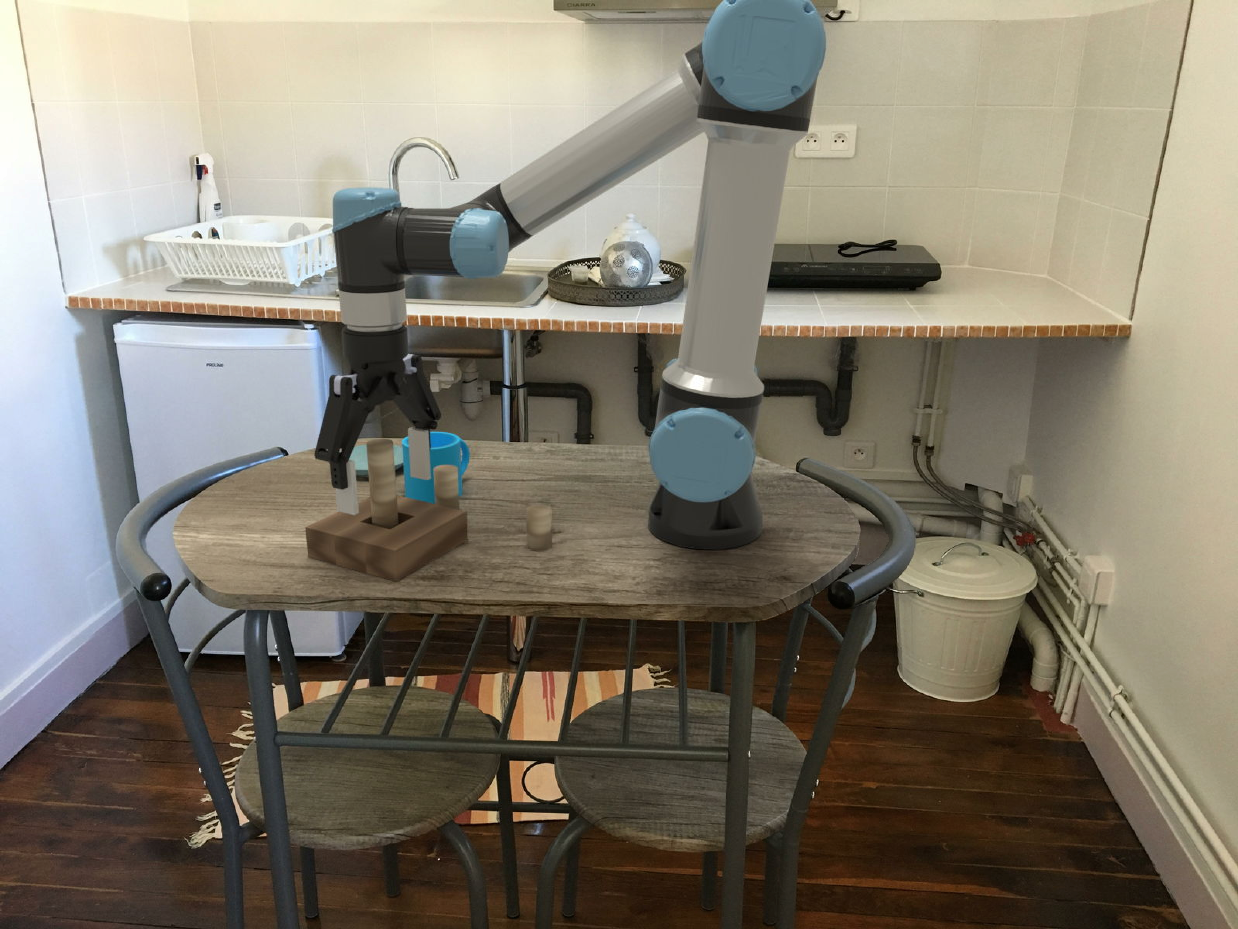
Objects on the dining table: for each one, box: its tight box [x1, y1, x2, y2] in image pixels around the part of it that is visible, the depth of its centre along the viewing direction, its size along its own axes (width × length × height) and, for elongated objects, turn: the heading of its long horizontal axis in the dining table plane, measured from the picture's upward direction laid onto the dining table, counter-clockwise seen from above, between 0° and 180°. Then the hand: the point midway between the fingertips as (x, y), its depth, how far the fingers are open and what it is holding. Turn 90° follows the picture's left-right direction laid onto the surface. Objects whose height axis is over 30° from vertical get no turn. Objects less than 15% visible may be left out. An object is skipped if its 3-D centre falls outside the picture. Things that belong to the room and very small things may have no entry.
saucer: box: [339, 444, 403, 478], centre depth 155 cm, size 12×12×2 cm
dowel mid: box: [433, 465, 460, 510], centre depth 136 cm, size 3×3×7 cm
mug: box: [401, 431, 471, 504], centre depth 146 cm, size 12×8×8 cm
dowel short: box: [525, 504, 553, 552], centre depth 128 cm, size 3×3×5 cm
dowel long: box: [365, 438, 399, 529], centre depth 125 cm, size 3×3×14 cm
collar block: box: [304, 494, 469, 582], centre depth 127 cm, size 14×14×4 cm
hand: (386, 494), depth 125 cm, fingers open, 13 cm apart
